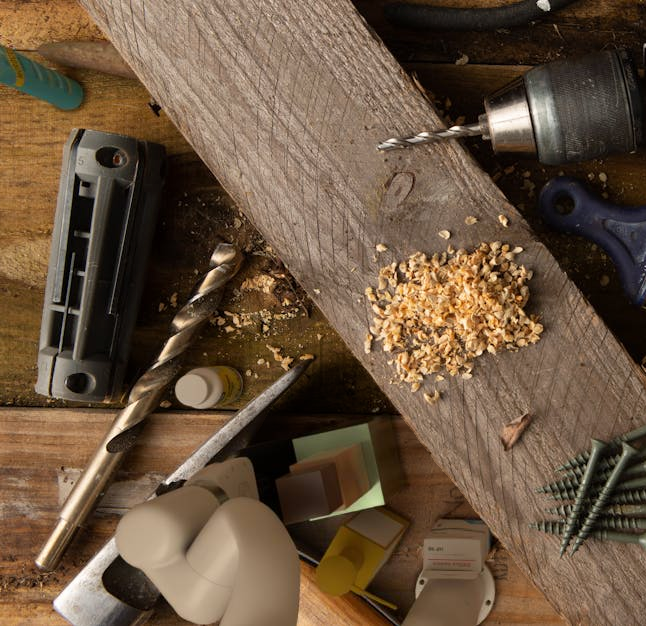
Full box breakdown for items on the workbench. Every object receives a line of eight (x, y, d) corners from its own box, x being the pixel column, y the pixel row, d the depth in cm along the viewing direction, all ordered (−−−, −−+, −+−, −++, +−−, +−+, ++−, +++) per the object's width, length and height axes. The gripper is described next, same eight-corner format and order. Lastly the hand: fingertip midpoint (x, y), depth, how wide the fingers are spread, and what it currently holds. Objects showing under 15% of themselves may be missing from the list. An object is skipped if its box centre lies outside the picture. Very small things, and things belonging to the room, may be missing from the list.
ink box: (491, 519, 127) (479, 545, 112) (490, 550, 127) (478, 580, 112) (437, 518, 127) (419, 544, 112) (437, 549, 127) (418, 579, 112)
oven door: (316, 502, 129) (239, 529, 120) (301, 431, 129) (223, 451, 120) (333, 502, 126) (255, 529, 116) (317, 428, 126) (238, 449, 116)
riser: (371, 489, 114) (346, 509, 102) (330, 499, 114) (300, 519, 102) (360, 442, 114) (335, 456, 102) (319, 451, 114) (289, 466, 102)
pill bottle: (240, 407, 126) (207, 415, 115) (201, 399, 126) (165, 407, 115) (248, 369, 126) (216, 373, 115) (209, 361, 126) (174, 365, 115)
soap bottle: (417, 579, 127) (380, 637, 103) (348, 539, 127) (295, 589, 103) (439, 539, 127) (407, 588, 103) (370, 500, 127) (323, 540, 103)
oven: (337, 501, 127) (309, 521, 114) (321, 427, 127) (292, 439, 114) (405, 486, 127) (385, 504, 114) (389, 412, 127) (367, 423, 114)
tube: (94, 106, 126) (7, 67, 107) (67, 122, 126) (-25, 86, 107) (69, 66, 126) (-22, 20, 107) (43, 82, 126) (-54, 39, 107)
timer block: (343, 504, 102) (330, 515, 96) (300, 514, 102) (284, 525, 96) (334, 461, 102) (320, 470, 96) (291, 471, 102) (274, 479, 96)
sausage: (133, 51, 119) (154, 34, 124) (16, 34, 119) (41, 18, 124) (145, 89, 124) (165, 71, 128) (33, 73, 124) (56, 56, 128)
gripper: (239, 566, 98) (294, 529, 117) (217, 447, 99) (275, 429, 117) (179, 578, 98) (243, 538, 117) (158, 459, 99) (225, 438, 117)
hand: (259, 484), depth 117 cm, fingers closed
